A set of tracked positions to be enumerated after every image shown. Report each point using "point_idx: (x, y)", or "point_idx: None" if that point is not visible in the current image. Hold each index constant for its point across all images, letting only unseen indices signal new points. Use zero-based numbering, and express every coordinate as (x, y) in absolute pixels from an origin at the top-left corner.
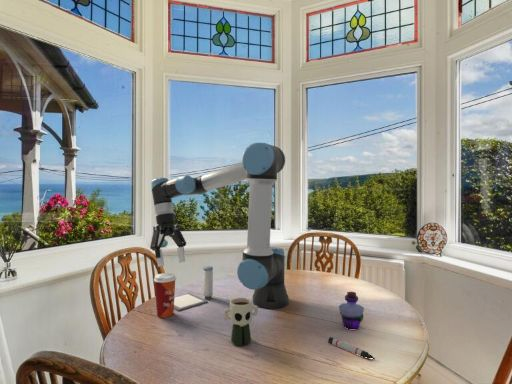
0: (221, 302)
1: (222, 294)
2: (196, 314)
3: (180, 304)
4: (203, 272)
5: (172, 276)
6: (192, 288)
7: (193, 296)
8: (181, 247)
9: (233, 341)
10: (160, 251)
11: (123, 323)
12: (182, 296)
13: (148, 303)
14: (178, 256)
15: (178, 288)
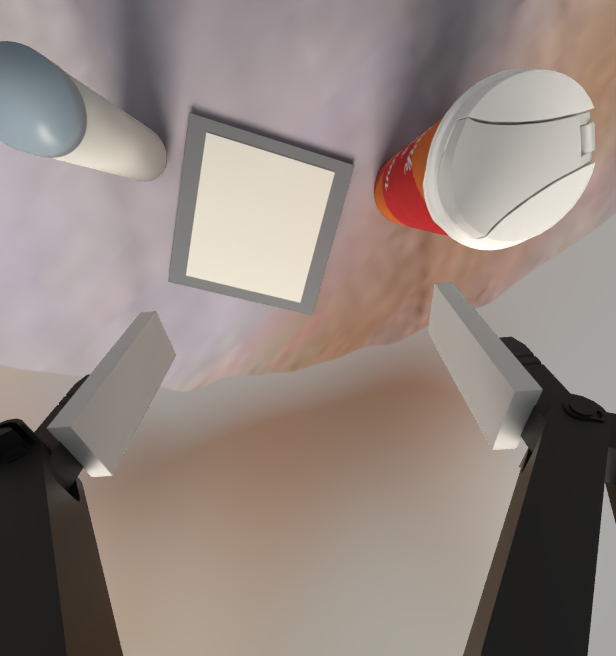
0: (143, 39)
1: None
2: (340, 53)
3: (304, 203)
4: (94, 141)
5: (526, 78)
6: (104, 327)
7: (190, 229)
8: (80, 426)
9: None
10: (523, 376)
11: (525, 264)
12: (224, 273)
13: (346, 341)
14: (155, 393)
15: None
